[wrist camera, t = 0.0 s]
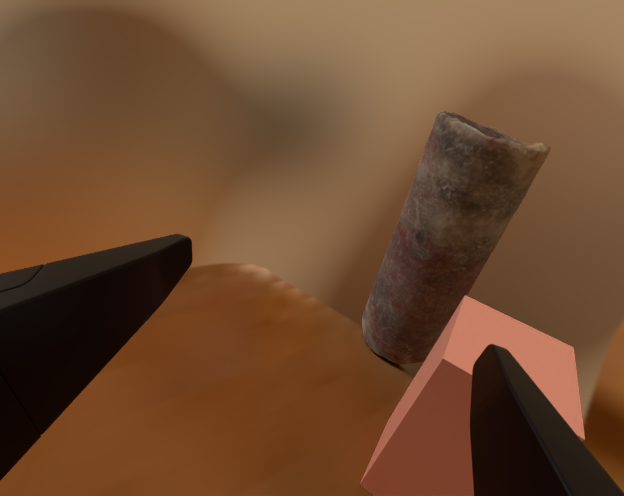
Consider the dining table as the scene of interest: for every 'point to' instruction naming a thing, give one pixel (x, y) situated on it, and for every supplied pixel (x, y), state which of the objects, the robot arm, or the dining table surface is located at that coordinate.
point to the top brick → (462, 403)
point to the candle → (446, 232)
